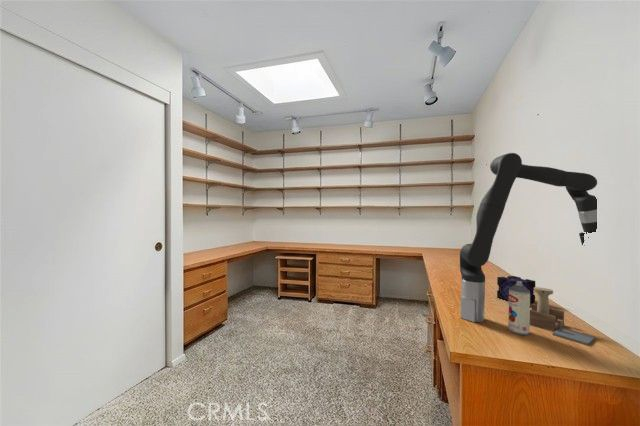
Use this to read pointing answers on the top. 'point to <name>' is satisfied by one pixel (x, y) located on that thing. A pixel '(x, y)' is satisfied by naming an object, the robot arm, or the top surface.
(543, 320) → the frame
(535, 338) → the top surface
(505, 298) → the energy cube
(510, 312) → the aerosol can
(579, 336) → the mat
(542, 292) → the handle
